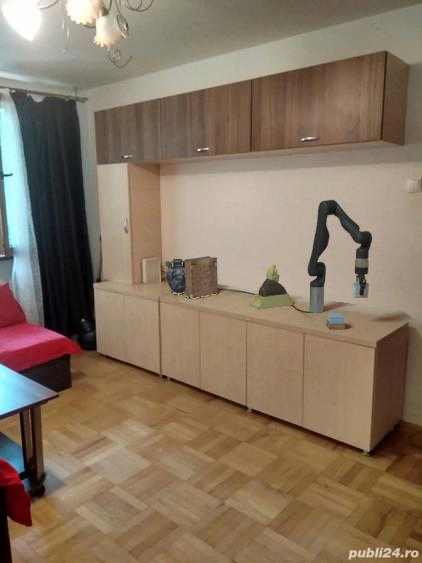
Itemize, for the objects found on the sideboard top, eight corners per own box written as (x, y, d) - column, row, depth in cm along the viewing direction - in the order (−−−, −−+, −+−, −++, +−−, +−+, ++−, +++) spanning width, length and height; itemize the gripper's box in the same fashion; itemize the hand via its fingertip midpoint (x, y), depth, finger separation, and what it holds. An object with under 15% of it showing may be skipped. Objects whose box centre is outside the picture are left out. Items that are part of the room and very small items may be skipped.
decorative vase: (184, 289, 385) (183, 256, 379) (195, 293, 370) (194, 259, 364) (161, 293, 374) (160, 259, 368) (172, 297, 358) (170, 262, 353)
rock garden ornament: (283, 301, 336) (283, 261, 330) (292, 305, 324) (293, 263, 319) (249, 306, 325) (248, 264, 319) (257, 310, 314) (257, 267, 308)
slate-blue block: (327, 319, 274) (327, 313, 273) (341, 319, 273) (341, 313, 272) (330, 323, 266) (330, 316, 265) (344, 323, 265) (344, 316, 265)
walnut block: (326, 325, 275) (326, 319, 274) (341, 325, 274) (341, 319, 274) (329, 330, 266) (329, 323, 265) (344, 330, 266) (344, 323, 265)
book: (210, 292, 372) (209, 256, 366) (218, 294, 365) (217, 257, 359) (185, 297, 356) (184, 259, 350) (193, 299, 349) (192, 260, 343)
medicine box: (365, 296, 272) (366, 282, 271) (368, 298, 268) (369, 283, 266) (352, 296, 272) (352, 282, 270) (354, 298, 268) (355, 283, 266)
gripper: (352, 263, 274) (351, 291, 277) (358, 267, 260) (356, 297, 263) (364, 263, 273) (363, 291, 276) (371, 267, 259) (370, 297, 262)
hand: (360, 294), depth 270 cm, fingers closed on medicine box, 4 cm apart
